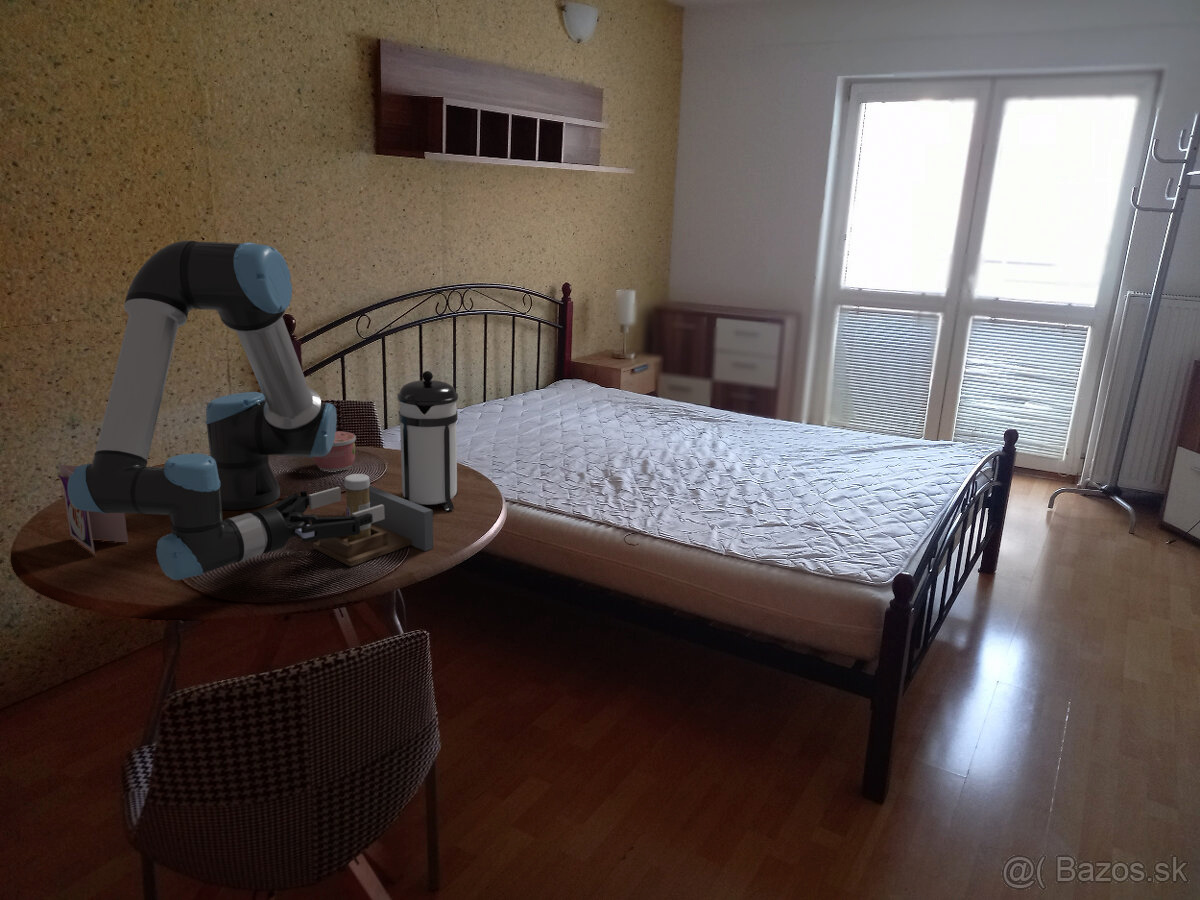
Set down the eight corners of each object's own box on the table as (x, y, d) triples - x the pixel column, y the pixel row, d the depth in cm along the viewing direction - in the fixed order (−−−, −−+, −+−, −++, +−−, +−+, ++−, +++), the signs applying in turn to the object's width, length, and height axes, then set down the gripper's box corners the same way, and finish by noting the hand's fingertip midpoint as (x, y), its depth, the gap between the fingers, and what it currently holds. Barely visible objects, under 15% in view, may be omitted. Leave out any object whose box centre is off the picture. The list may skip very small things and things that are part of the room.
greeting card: (66, 540, 158) (54, 465, 153) (108, 529, 163) (97, 457, 159) (89, 557, 151) (78, 480, 147) (132, 546, 157) (122, 471, 152)
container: (333, 477, 198) (331, 445, 196) (303, 468, 204) (301, 437, 201) (366, 466, 207) (364, 436, 205) (337, 458, 212) (335, 428, 210)
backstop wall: (425, 551, 160) (424, 512, 158) (362, 523, 172) (360, 487, 169) (433, 548, 161) (432, 510, 159) (370, 521, 173) (369, 485, 171)
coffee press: (480, 503, 186) (480, 372, 177) (420, 520, 175) (417, 381, 166) (436, 483, 197) (434, 359, 189) (377, 497, 186) (371, 367, 178)
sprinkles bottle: (342, 542, 159) (339, 476, 155) (363, 536, 163) (360, 471, 159) (356, 549, 157) (353, 482, 153) (376, 542, 160) (374, 477, 156)
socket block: (350, 566, 152) (349, 549, 151) (313, 547, 159) (312, 531, 158) (411, 544, 162) (411, 528, 161) (374, 528, 169) (373, 512, 168)
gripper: (221, 533, 150) (323, 504, 166) (299, 575, 135) (403, 538, 151) (217, 494, 148) (321, 468, 164) (296, 533, 133) (402, 500, 149)
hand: (361, 502), depth 158 cm, fingers open, 13 cm apart
